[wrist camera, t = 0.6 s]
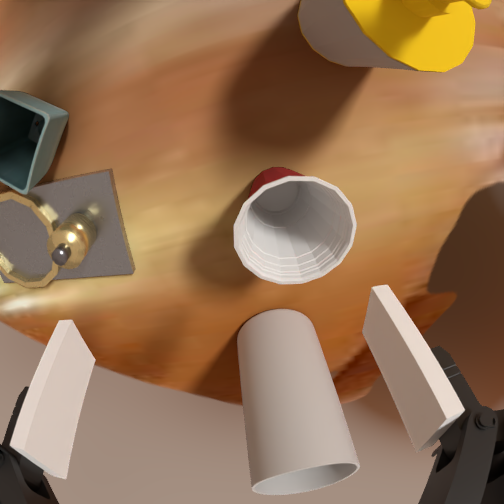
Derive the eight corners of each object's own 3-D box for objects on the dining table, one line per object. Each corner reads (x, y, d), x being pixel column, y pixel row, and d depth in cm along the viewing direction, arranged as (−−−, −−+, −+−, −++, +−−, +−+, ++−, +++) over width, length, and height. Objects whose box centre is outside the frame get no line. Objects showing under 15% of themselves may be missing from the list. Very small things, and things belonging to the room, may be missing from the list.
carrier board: (-23, 198, 30) (-53, 221, 24) (111, 164, 32) (85, 185, 25) (8, 281, 38) (-14, 310, 31) (136, 271, 39) (122, 308, 33)
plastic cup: (211, 205, 36) (208, 257, 25) (263, 129, 32) (284, 148, 21) (283, 246, 40) (305, 305, 29) (335, 180, 36) (379, 220, 25)
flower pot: (88, 106, 28) (50, 115, 20) (63, 171, 31) (26, 197, 23) (36, 83, 25) (-8, 89, 17) (15, 146, 28) (-27, 166, 20)
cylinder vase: (299, 294, 44) (352, 452, 22) (321, 343, 50) (364, 473, 29) (223, 324, 46) (232, 483, 24) (255, 367, 52) (274, 498, 30)
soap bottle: (289, -31, 22) (365, -128, 4) (391, -9, 23) (517, -44, 5) (290, 67, 28) (389, 43, 10) (393, 81, 29) (533, 103, 11)
